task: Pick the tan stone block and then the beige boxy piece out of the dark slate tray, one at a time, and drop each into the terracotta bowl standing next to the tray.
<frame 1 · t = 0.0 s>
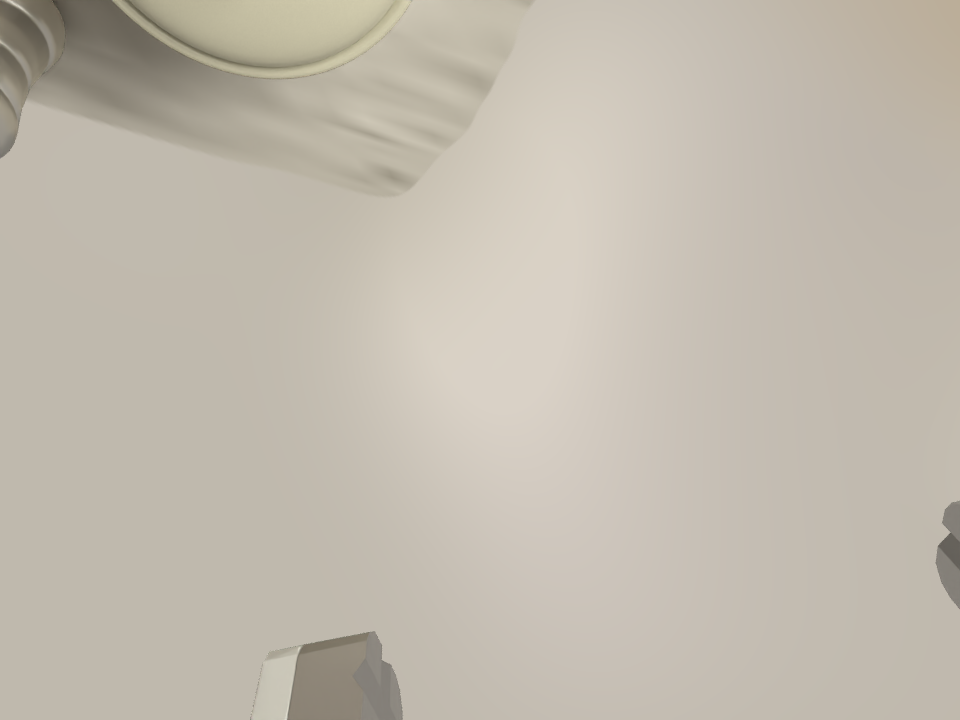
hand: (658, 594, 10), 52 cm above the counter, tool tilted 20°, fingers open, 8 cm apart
silver metal bottle: (21, 8, 49), on the counter
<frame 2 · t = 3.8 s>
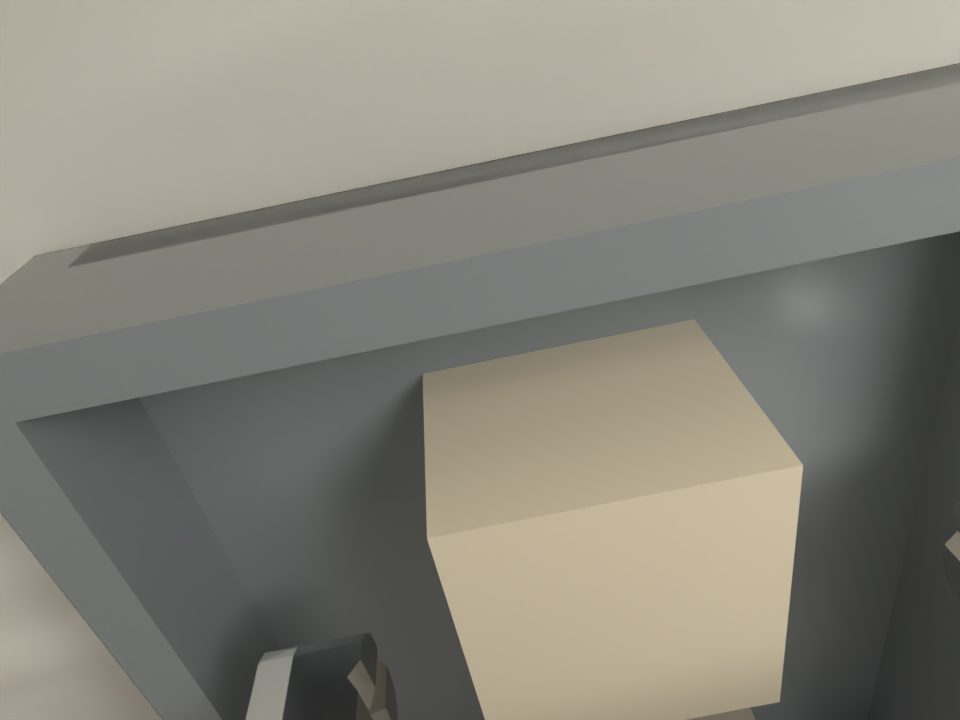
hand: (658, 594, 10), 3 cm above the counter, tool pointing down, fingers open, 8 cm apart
beige boxy piece: (604, 675, 14), point 1 cm above the counter, touching slate tray
tan stone: (573, 460, 11), point 1 cm above the counter, touching slate tray
slate tray: (581, 549, 13), on the counter
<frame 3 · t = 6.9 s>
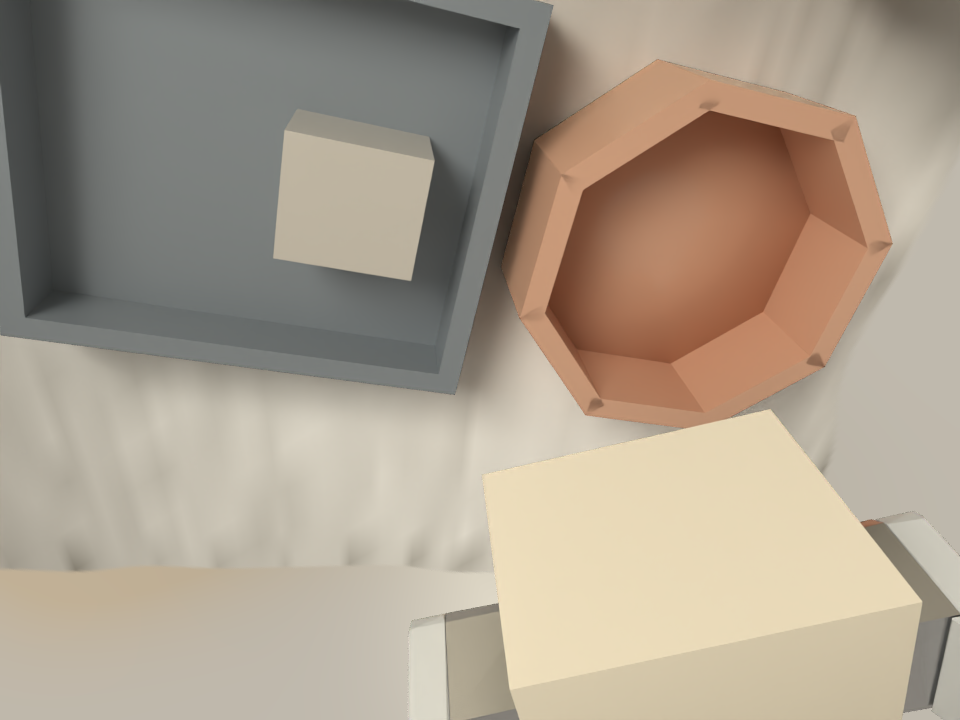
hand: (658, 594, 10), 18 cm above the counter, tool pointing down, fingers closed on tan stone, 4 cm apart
beige boxy piece: (356, 181, 24), point 1 cm above the counter, touching slate tray
terracotta bowl: (661, 234, 27), on the counter
tan stone: (640, 553, 10), point 18 cm above the counter, touching gripper
slate tray: (270, 158, 24), on the counter
when the fingers open (6 cm above the counter, at t = 9.5 s): tan stone drops 4 cm, resting on terracotta bowl.
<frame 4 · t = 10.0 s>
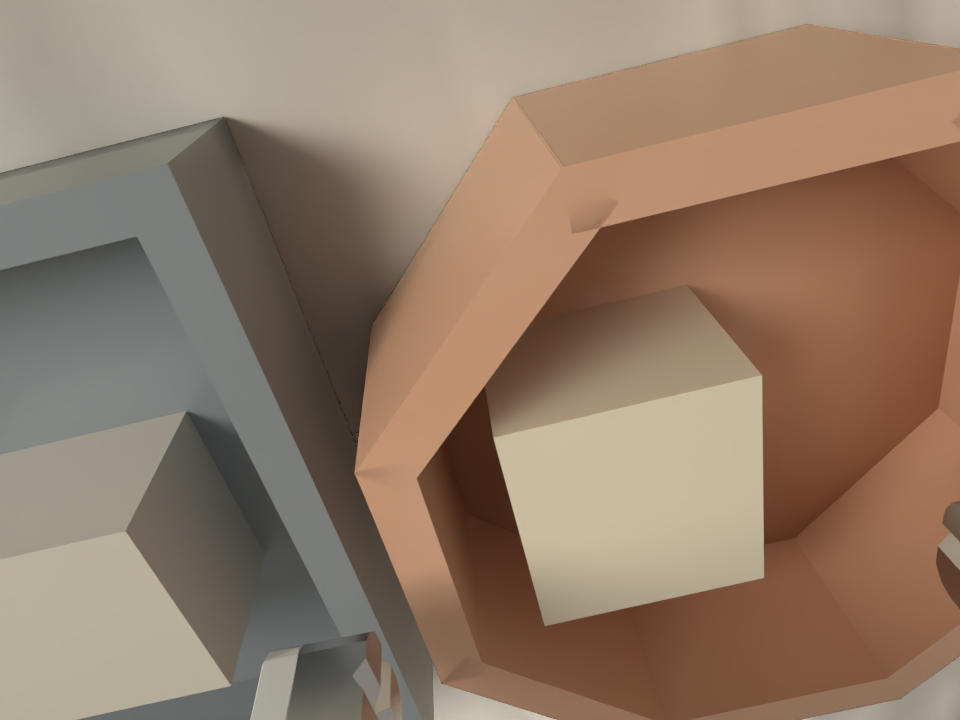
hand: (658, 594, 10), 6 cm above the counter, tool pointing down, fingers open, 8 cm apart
beige boxy piece: (127, 510, 14), point 1 cm above the counter, touching slate tray
terracotta bowl: (680, 360, 14), on the counter
tan stone: (596, 403, 14), point 1 cm above the counter, touching terracotta bowl
slate tray: (10, 515, 15), on the counter
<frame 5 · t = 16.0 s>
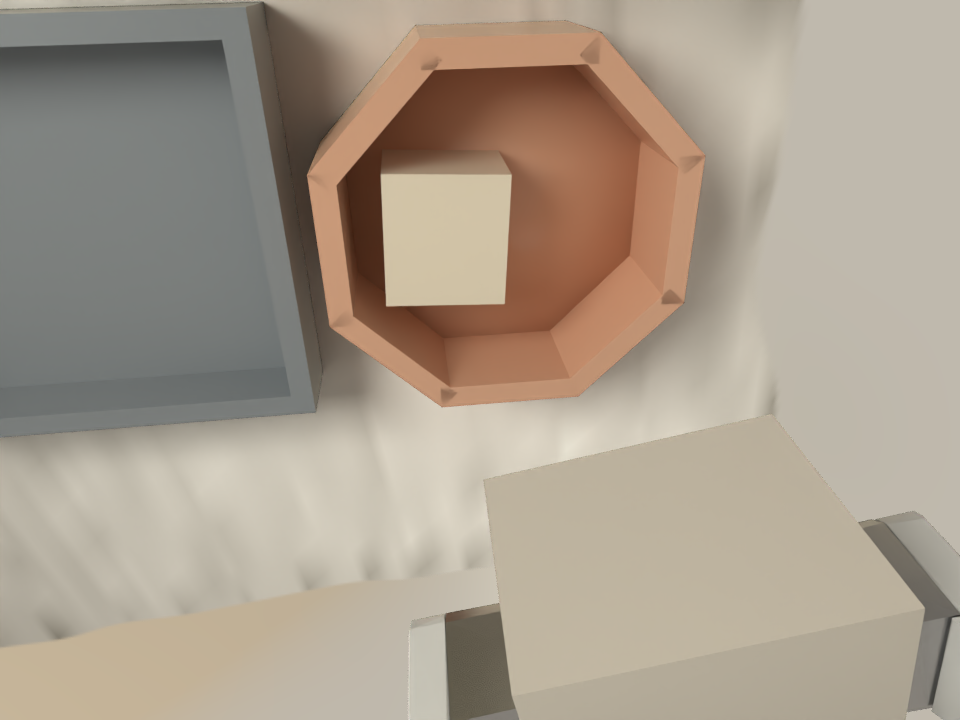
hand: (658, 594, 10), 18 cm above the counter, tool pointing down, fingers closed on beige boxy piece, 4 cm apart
beige boxy piece: (642, 557, 10), point 18 cm above the counter, touching gripper
terracotta bowl: (492, 201, 25), on the counter
tan stone: (440, 211, 25), point 1 cm above the counter, touching terracotta bowl
slate tray: (73, 224, 24), on the counter
when the fingers open (6 cm above the counter, at t = 18.3 s): beige boxy piece drops 5 cm, resting on terracotta bowl.
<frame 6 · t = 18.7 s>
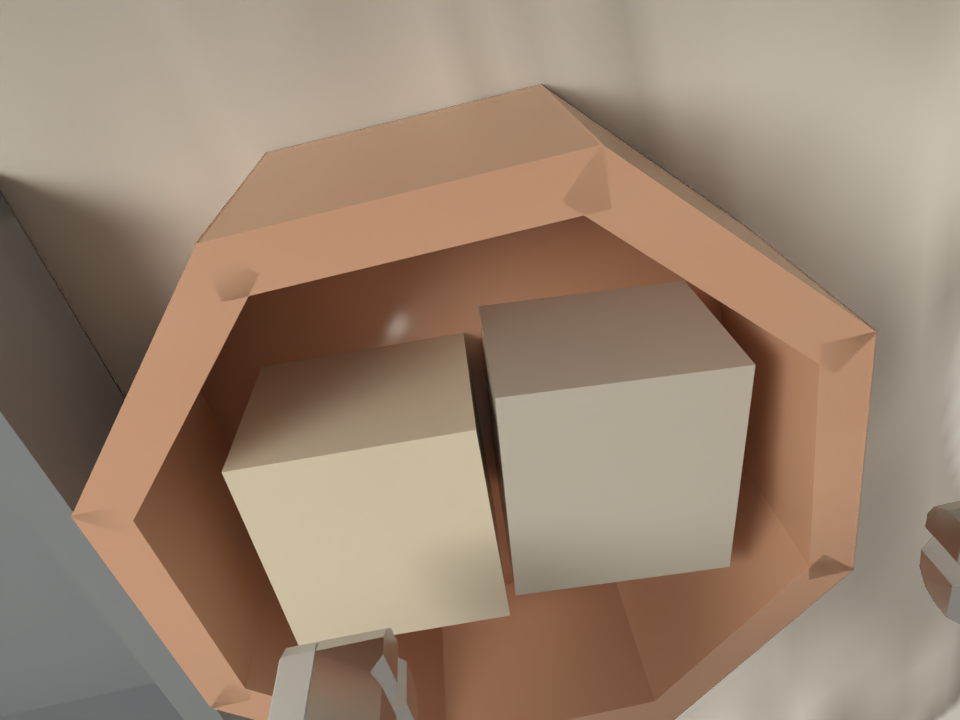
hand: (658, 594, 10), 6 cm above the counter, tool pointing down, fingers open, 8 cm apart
beige boxy piece: (583, 388, 14), point 1 cm above the counter, touching terracotta bowl
terracotta bowl: (476, 394, 15), on the counter
tan stone: (386, 438, 14), point 1 cm above the counter, touching terracotta bowl
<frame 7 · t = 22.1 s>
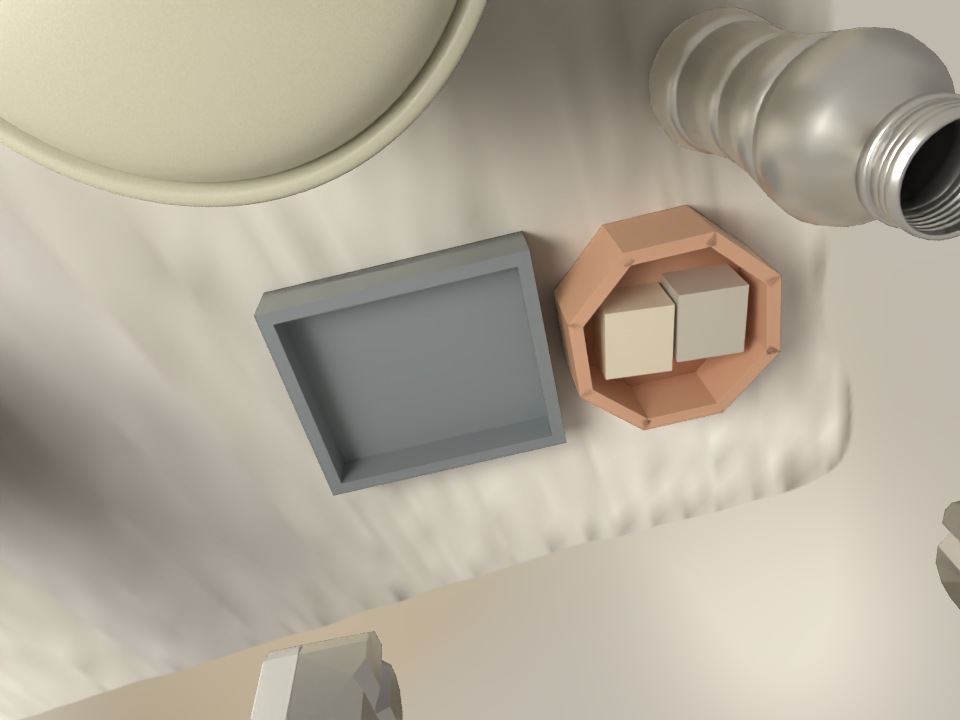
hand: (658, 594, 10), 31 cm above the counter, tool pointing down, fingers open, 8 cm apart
beige boxy piece: (692, 300, 42), point 1 cm above the counter, touching terracotta bowl
terracotta bowl: (653, 304, 43), on the counter
tan stone: (624, 318, 42), point 1 cm above the counter, touching terracotta bowl
slate tray: (421, 358, 43), on the counter
silver metal bottle: (696, 74, 36), on the counter
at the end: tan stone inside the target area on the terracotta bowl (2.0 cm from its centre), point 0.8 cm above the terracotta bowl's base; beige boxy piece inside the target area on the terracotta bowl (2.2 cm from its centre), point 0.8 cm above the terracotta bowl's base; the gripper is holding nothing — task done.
